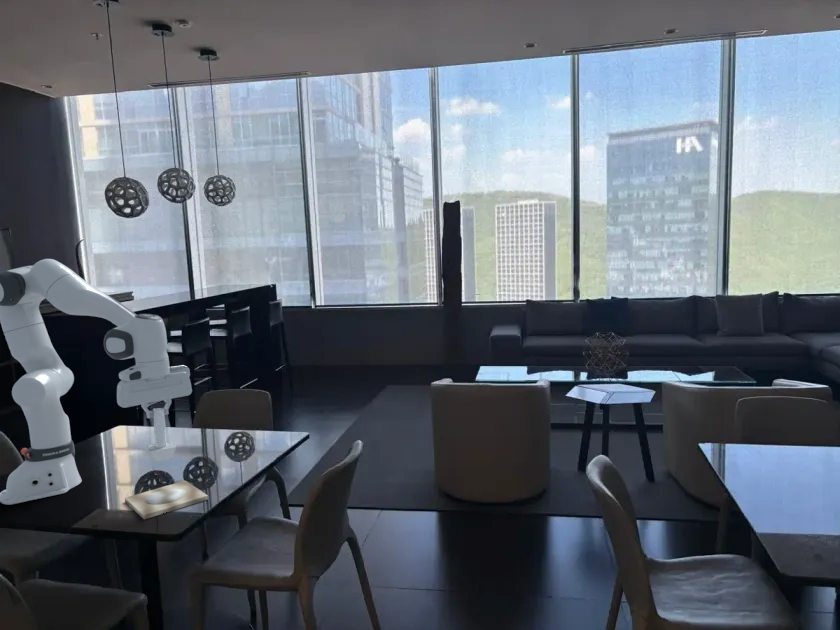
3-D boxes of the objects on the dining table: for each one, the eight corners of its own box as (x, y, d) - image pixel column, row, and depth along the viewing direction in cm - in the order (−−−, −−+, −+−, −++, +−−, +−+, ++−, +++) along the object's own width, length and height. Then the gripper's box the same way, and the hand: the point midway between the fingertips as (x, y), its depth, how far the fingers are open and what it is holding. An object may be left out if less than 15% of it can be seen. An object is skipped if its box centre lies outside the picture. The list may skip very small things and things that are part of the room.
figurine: (173, 451, 180) (169, 403, 179) (178, 460, 172) (173, 409, 170) (147, 456, 176) (142, 407, 175) (151, 465, 168) (146, 414, 167)
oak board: (144, 519, 163) (143, 514, 163) (125, 501, 177) (124, 497, 176) (208, 499, 175) (207, 494, 175) (185, 484, 188) (185, 479, 188)
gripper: (185, 362, 181) (189, 407, 183) (112, 374, 168) (117, 421, 169) (193, 365, 176) (197, 410, 178) (118, 376, 163) (124, 425, 164)
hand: (157, 416), depth 173 cm, fingers closed on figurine, 3 cm apart
